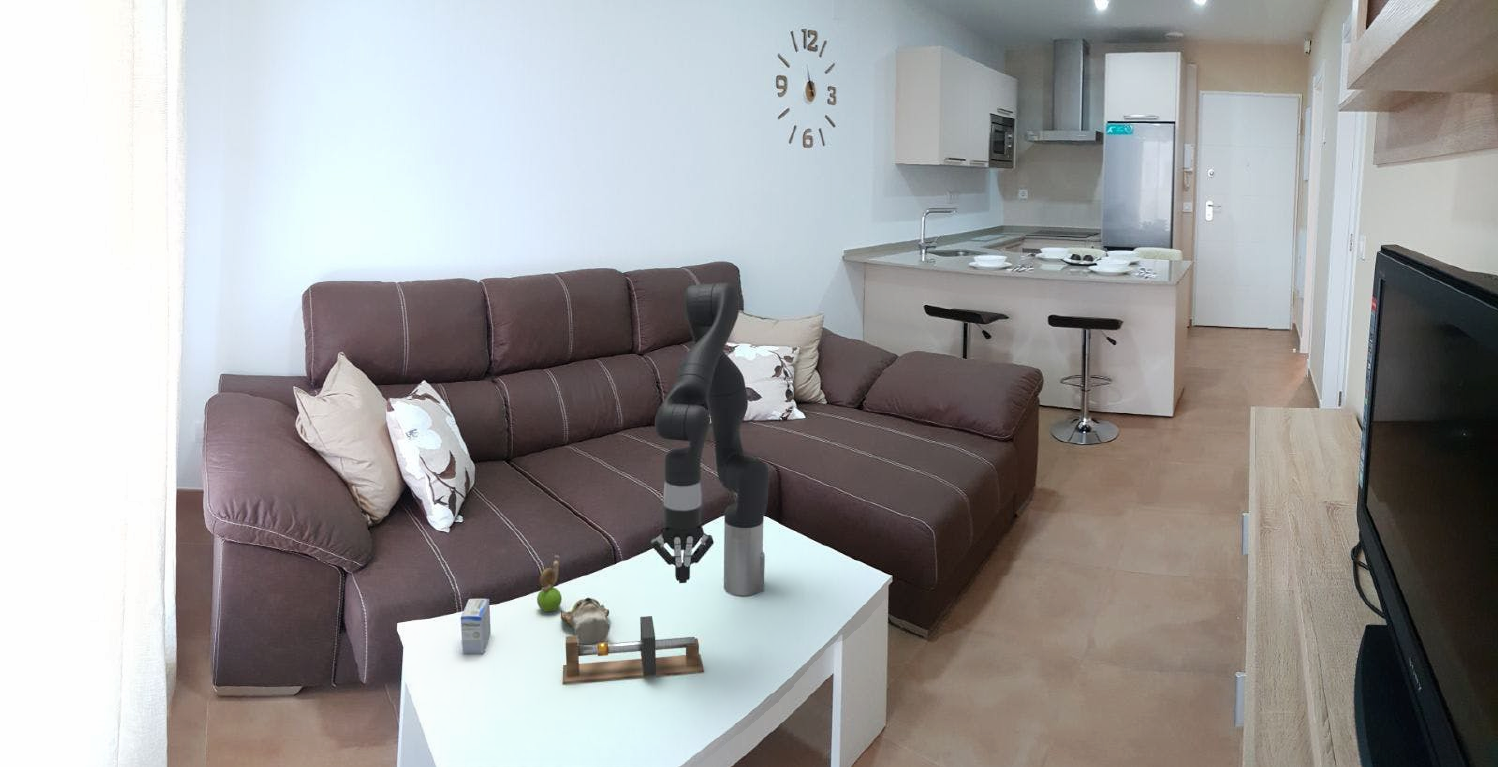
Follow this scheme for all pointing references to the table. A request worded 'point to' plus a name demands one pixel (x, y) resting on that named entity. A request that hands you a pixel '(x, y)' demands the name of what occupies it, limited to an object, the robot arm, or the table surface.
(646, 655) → the dark grey frame
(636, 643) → the pipe
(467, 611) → the medicine box
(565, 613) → the ceramic sculpture
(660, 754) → the table surface
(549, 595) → the snail figurine
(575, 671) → the stand
